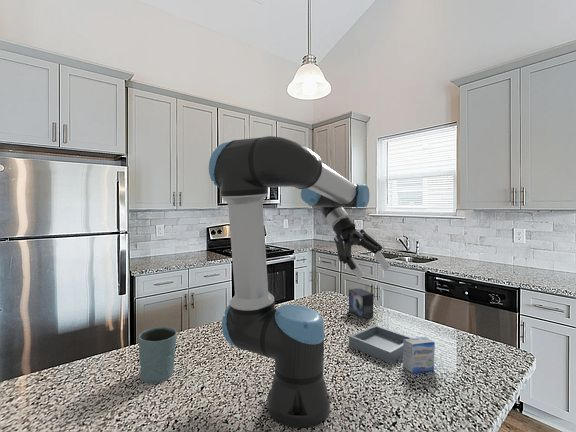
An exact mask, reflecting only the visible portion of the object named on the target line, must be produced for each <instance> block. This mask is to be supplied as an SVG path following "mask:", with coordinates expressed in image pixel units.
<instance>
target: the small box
mask: <svg viewBox="0 0 576 432" xmlns="http://www.w3.org/2000/svg"><path fill="white" fill-rule="evenodd" d="M374 295H375V294H374V293H373V292H370V291H368V290H366V289H362V288H360V287H358V288H352V289H350V288H349V289H348V312H349V313H351V314H353V315H355V316H357V317H359V318H361V319H363V320H364V319H365V320H366V319H369V318H373V317H374Z"/></svg>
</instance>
